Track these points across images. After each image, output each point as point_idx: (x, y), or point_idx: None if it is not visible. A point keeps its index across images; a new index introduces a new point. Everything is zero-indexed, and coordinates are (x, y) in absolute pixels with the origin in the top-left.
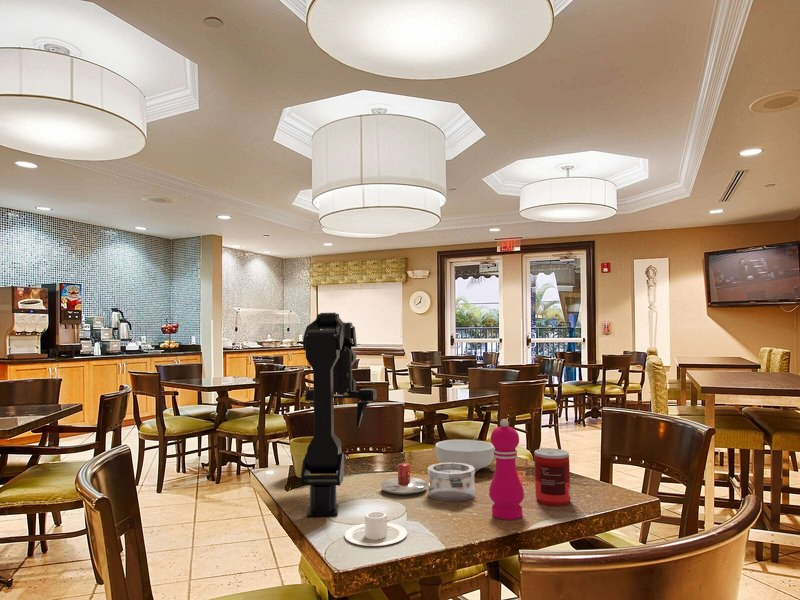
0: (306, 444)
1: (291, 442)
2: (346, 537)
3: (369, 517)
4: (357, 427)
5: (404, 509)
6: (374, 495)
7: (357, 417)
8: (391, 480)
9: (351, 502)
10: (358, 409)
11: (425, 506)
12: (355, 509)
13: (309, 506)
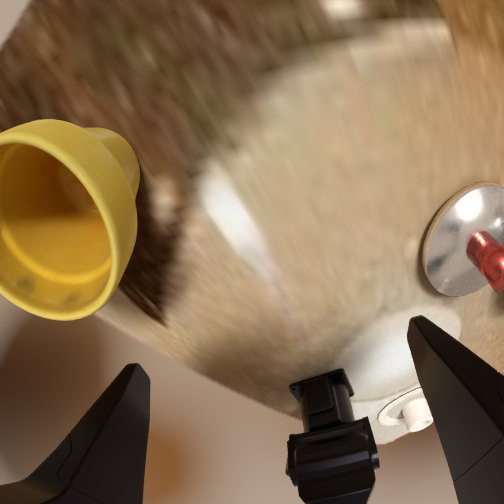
0: (87, 315)
1: (15, 303)
2: (382, 423)
3: (413, 431)
4: (410, 337)
5: (458, 335)
6: (405, 292)
7: (439, 417)
8: (451, 230)
9: (362, 342)
10: (463, 477)
11: (490, 311)
12: (377, 364)
13: (291, 391)
